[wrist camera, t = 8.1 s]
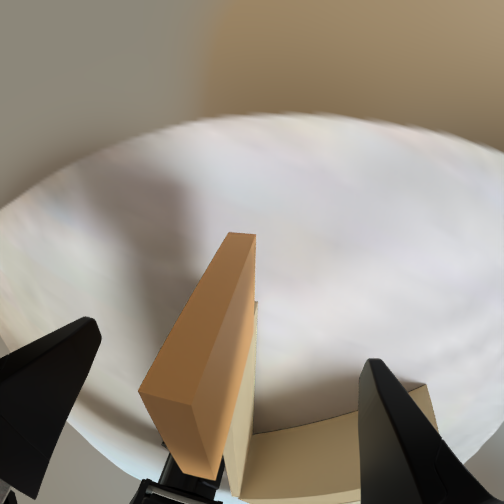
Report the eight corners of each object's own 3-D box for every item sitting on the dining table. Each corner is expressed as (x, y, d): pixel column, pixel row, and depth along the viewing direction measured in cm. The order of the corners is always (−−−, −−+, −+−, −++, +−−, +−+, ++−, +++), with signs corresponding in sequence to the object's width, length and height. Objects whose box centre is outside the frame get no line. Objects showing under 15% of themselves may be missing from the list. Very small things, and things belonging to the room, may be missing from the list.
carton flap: (254, 436, 22) (234, 528, 14) (243, 434, 22) (222, 525, 14) (265, 210, 13) (191, 405, 4) (242, 209, 13) (137, 390, 4)
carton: (300, 466, 26) (294, 518, 19) (252, 434, 23) (238, 499, 16) (437, 428, 20) (448, 486, 13) (426, 384, 17) (444, 464, 10)
